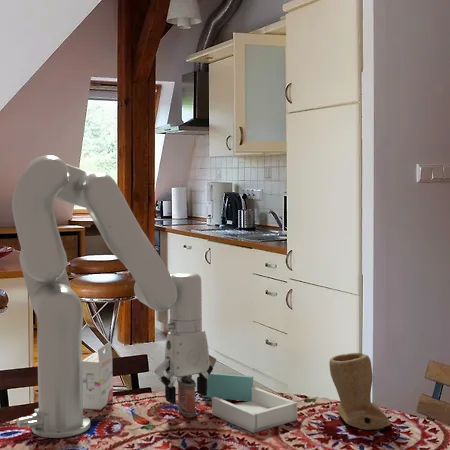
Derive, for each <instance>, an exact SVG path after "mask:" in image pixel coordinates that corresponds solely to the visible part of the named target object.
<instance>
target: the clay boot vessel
mask: <svg viewBox="0 0 450 450" xmlns="http://www.w3.org/2000/svg"><path fill="white" fill-rule="evenodd" d="M328 363H329V364H328V365H329V372H330V376H331V380H332V382H333V384H334V387H335V390H336V393H337V395H338V398H339V401H340V403H339V404H337V406H336V411H337V413H338V415H339V416H340V417H341V418H342V420H343V421H344V422H345V424H347V425H349V426H350V427H351V426H352V427H354V428H357V429H360V430H366V431H367V430H368V431H369V430H371V431H372V430H380V429H382V428H386V427H389V426H390V425H391V420H390V418H388V416H387V415H386V414H385V413H384V412H383V411H382V409H381V408H380V407H379V406H378V405H377V404H375V402H372V401H371V400H372V399H371V393H372V392H371V391H372V386H373V367H372V361H371V358H370V356H369V355H368V354H364V353H361V352H352V353H351V352H350V353H343V354H338V355H334V356H332V357H331V358H330V359H329V362H328Z"/></svg>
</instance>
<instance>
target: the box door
mask: <svg viewBox="0 0 450 450" xmlns="http://www.w3.org/2000/svg"><path fill="white" fill-rule="evenodd" d="M253 387H254V376H252V375H243V374H242V375H239V374H227V373H218V372H217V373H215V372H211V373H210V375H209V378H208V379H207V396H203V395H201V396H202V398H211V399H212V397H218V398H220V399H222V400H232V401H233V400H234V401H244V402H248V401H252V388H253Z"/></svg>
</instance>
